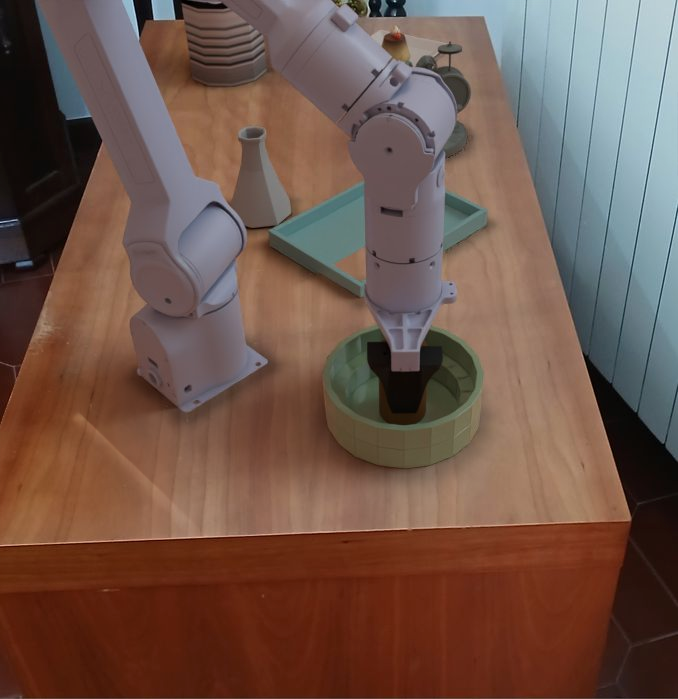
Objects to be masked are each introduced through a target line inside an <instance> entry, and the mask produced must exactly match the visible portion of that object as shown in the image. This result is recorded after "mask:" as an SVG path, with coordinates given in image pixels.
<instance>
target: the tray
mask: <svg viewBox="0 0 678 699" xmlns="http://www.w3.org/2000/svg"><path fill="white" fill-rule="evenodd" d="M488 212H489V211H488V208H485V207H483V206H481V205H480V204H478V203H475V202H473V201H471V200H469V199H467V198H465V197H463V196H461V195H459V194H457V193H454V192H452V191H450V190H448V189H446V188H445V208H444V234H443V252H446V251H447V250H448V249H450V248H451V247H453V246H455V245H457V244H458V243H459V242H461V241H463V240H464V239H466V238H467V237H469V236H471V235H473V234H474V233H476V232H477V231H479V230H480V229H482V228H484V227H486V226H487V224H488ZM267 233H268V241H269V247H271V248H272V249H274V250H276V251H277V252H279V253H281V254H282V255H284V256H285V257H287V258H289V259H290V260H292V261H294V262H295V263H297V264H298V265H300V266H302V267H303V268H305V269H306V270H308V271H310V272H311V273H313V274H314V275H318V274H321V275H322V276H324V277H326V278H327V279H329V280H330V281H333V283H335V284H337V285H338V286H340V287H342V288H343V289H345V290H347V291H348V292H350V293H352V294H353V295H355V296H356V297H358V298H360V299H362V298H364V287H365V285H366V278H364V279H362V280H358V279H357V278H355V277H354V276H352V275H350V274H348V273H347V272H346V271H343V270H342V269H340V267H339V268H338V267H337V266H335V264H337V263H339V262H341V261H342V260H344V259H346V258H348V257H350V256H351V255H353V254H355V253H356V252H358V251H360V250H362V249H363V248H365V214H364V179H363V180H361V181H360V182H358V183H355V184H354V185H352V186H349V187H348V188H346V189H345V190H343V191H340V192H338V193H336V195H333V196H331V197H329V198H328V199H326V200H323V201H321V202H319V203H318V204H316V205H314V206H312V207H310V208H308V209H306V210H304V211H303V212H301V213H298V214H297V215H295V216H293V217H291V218H289V219H287V220H286V221H282V222H281V223H280V224H278V225H275V226H274V227H272V228H270V229H269V230H267Z"/></svg>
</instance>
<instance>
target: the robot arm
mask: <svg viewBox="0 0 678 699" xmlns="http://www.w3.org/2000/svg"><path fill="white" fill-rule="evenodd" d="M36 1H37V3H38V6H39V8H40V10H41V12H42V15H43V16H44V18H45V20H46V23H47V25H48V27H49V30H50V31H51V33H52V36H53V38H54V40H55V42H56V44H57V46H58V48H59V51H60V53H61V55H62V57H63V60H64V62H65V63H66V66H67V68H68V70H69V73H70V74H71V77H72V78H73V80H74V83H75V85H76V87H77V90H78V92H79V93H80V96H81V98H82V100H83V102H84V104H85V106H86V108H87V111H88V112H89V113H88V114H89V115H90V117H91V119H92V121H93V124H94V126H95V128H96V130H97V132H98V134H99V136H100V139H101V141H102V143H103V145H104V147H105V149H106V151H107V153H108V156H109V159H110V160H111V162H112V164H113V166H114V169H115V171H116V173H117V176H118V177H119V179H120V181H121V183H122V185H123V188H124V190H125V192H126V194H127V196H128V199H129V200H130V205H129V210H128V214H127V219H126V223H125V227H124V232H123V235H122V241H121V242H122V246H123V248H124V250H125V252H126V254H127V257H128V261H129V276H130V280H131V284H132V286H133V287H134V290H135V291H136V293H137V294H138V295H139V297H140V298H141V300H143V302H144V303H146V304H145V305H144V306H143V307H142V308H141V309H140V310H138V311H137V312H136V313H135V314H133V315H132V316H131V317H130V319H129V331H130V336H131V339H132V343H133V347H134V352H135V356H136V360H137V364H138V368H137V369H136V374H137V376H138V377H142V378H143V379H144V380H145V381H146V382H148V384H150V385H151V387H154V388H155V389H156V390H157V391H158V392H159V393H161V395H162V396H164V397H165V398H166V399H167V400H168V401H169V402H171V403H172V404H173V405H174V406H176V407H177V408H178V409H179V410H180V411H182V413H189V412H191V411H194V410H195V409H196V408H198V407H199V406H202V405H203V404H204V403H207V402H208V401H209V400H211V399H213V398H215V397H216V396H218V395H219V394H221V393H222V392H224V391H225V390H227V389H229V388H230V387H232V386H234V385H235V384H237V383H239V382H240V381H242V380H244V379H245V378H246V377H248V376H249V375H251V374H252V373H255V372H256V371H258V370H259V369H261V368H263V367H264V366H266V365H267V364H268V362H269V361H268V359H267V358H265V357H264V356H263V355H261V354H260V353H259V352H258V351H256V350H255V349H253V348H252V347H251V346H249V345H248V344H247V341H246V333H245V327H244V319H243V310H242V305H241V298H240V297H241V296H240V290H239V283H238V276H237V272H238V271H239V270H238V263H237V258H238V257H239V256H240V255H241V254H242V253H243V252H244V250H245V249H246V245H247V242H248V233H247V228H246V226H245V225H244V224H243V222H242V220H241V218H240V217H239V216H238V214H237V213H236V212H235V211H234V210H233V209H232V208H231V207H230V206H231V205H230V204H229V203H228V202H227V200H226V199H225V197H224V195H223V193H222V190H221V188H220V185H219V184H218V183H217V182H215V181H212V180H209V179H205V178H202V177H198V176H196V175H195V173H194V170H193V167H192V165H191V164H190V161H189V158H188V156H187V154H186V152H185V149H184V147H183V143H182V142H181V140H180V137H179V134H178V132H177V129H176V127H175V125H174V122H173V120H172V118H171V115H170V113H169V110H168V108H167V105H166V103H165V101H164V98H163V95H162V94H161V91H160V89H159V86H158V84H157V82H156V79H155V77H154V74H153V72H152V70H151V67H150V64H149V62H148V60H147V57H146V55H145V52H144V49H143V48H142V45H141V43H140V41H139V38H138V36H137V33H136V31H135V28H134V25H133V23H132V22H131V18H130V16H129V14H128V12H127V9H126V7H125V4H124V2H123V0H36ZM220 1H221V2H222V3H223V4H225V5H226V6H227V7H228V8H230V9H231V10H232V11H233V12H235V13H236V14H237V15H238V16H240V17H241V18H242V19H243V20H245V21H246V22H247V23H248V24H250V25H251V26H252V27H253V28H255V29H256V30H257V31H258V32H260V33H261V34H262V35H264V39H265V40H266V44H267V48H268V49H267V52H268V57H269V62H270V66H271V68H272V69H273V70H274V71H275V72H277V73H278V74H279V75H280V76H281V77H282V78H283V79H285V80H286V82H288V83H289V84H290V85H291V86H292V87H293V88H295V90H297V91H298V92H299V93H300V94H301V95H302V96H303V97H304V98H306V99H307V101H309V102H310V103H311V104H312V105H314V107H316V109H318V110H319V111H320V112H321V113H322V114H323V115H324V116H325V117H326V118H328V119H329V120H330V121H331V122H332V123H333V124H334V125H336V127H337V128H339V129H340V130H341V131H342V132H343V133H344V134H345V135H347V136H348V137H349V138H351V139H350V140H348V141H347V150H348V154H349V157H350V159H351V161H352V163H353V165H354V166H355V168H356V169H357V170H358V172H359V173H360V174H361V176H362V177H363V180H364V214H365V247H364V250H365V279H366V285H365V287H364V296H363V300H364V302H365V306H366V308H367V309H368V311H369V313H370V314H371V316H372V318H373V319H374V321H375V323H376V325H378V327H379V328H380V330H381V332H382V334H383V335H384V337H385V339H386V341H387V342H367V362H368V365H369V367H370V369H371V370H372V371H373V372H374V373H375V374H376V375H377V377H378V378H379V380H380V381H381V383H382V385H383V388H384V391H385V395H386V399H387V402H388V405H389V408H390V410H391V412H392V413H393V414H399V413H417V411H418V409H419V407H420V404H421V401H422V398H423V394H424V391H425V388H426V386H427V384H428V382H429V380H430V379H431V377H432V376H433V375H434V374H435V373H436V372H437V371H438V370H439V369H440V367H441V364H442V361H443V352H442V346H421V345H422V342H423V340H424V338H425V336H426V334H427V332H428V330H429V328H430V327H431V326H433V325H432V324H433V323H434V321H435V319H436V317H437V316H438V313H439V311H440V308H441V307H442V306H444V305H449V304H454V303H456V302H457V299H458V298H457V297H458V296H457V295H458V294H457V293H458V292H457V285H456V283H455V282H454V281H452V280H443V258H444V257H443V254H444V251H443V234H444V208H445V189H446V185H445V184H446V183H445V173H446V170H445V169H446V158H445V152H444V151H443V150H442V148H443V147H444V145H445V144H446V142H447V140H448V139H449V137H450V136H451V134H452V132H453V129H454V127H455V124H456V121H458V114H457V104H456V101H455V98H454V96H453V94H452V92H451V90H450V89H449V88H448V86H447V85H446V84H445V83H444V82H443V80H442V78H441V76H440V75H438V74H437V73H435V72H433V71H431V70H428V69H425V68H420V67H409V66H407V65H406V64H405V63H404V62H403V61H400V60H399V61H398V62H397V61H396V60H395V59H394V58H393V59H392V60H391V61H390V62H389V63H388V61H389V60H390V59H391V58H392V56H391V55H390V54H389V53H388V52H387V51H386V50H384V49H383V48H382V47H381V46H380V45H379V44H378V43H377V42H376V41H375V40H374V39H373V38H372V37H370V36H371V35H370V34H369V33H368V32H366V31H365V29H363V28H362V27H361V26H360V25H359V24H358V23H357V21H358V19H359V15H358V14H357V13H356V11H355V10H353V9H352V8H351V7H350V6H349V5H348V4H346V3H343V4H342V5H341V6H340V7H339V6H338V5H337V4H336V3H335V2H334V1H333V0H220ZM387 63H388V64H387ZM386 64H387V66H386V67H385V68H384V69H383V67H384V66H385V65H386ZM382 69H383V70H382ZM256 364H259V365H256ZM196 401H198V403H194V402H196Z"/></svg>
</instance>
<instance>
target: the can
mask: <svg viewBox="0 0 678 699" xmlns="http://www.w3.org/2000/svg"><path fill="white" fill-rule="evenodd" d="M180 2H181V10H182V15H183V22H184V28H185V37H186V42H187V49H188V55H189V56H188V57H189V62H190V68H191V74H192V75H191V76H192V80H193V81H196V82H197V83H200V84H202V85H205V86H207V87H225V88H227V87H229V88H231V87H237V86H240V85H246V84H248V83H253V82H256V81H257V80H258V79H259V78H260V77H262V76H263V75H264V74H265V73H266V72H267V70H268V67H267V58H266V57H267V56H266V46H265V36H264V35H262V34H261V33H260V32H258V31H257V30H256V29H255V28H253V27H252V26H251V25H250V24H248V23H247V22H246V21H245V20H243V19H242V18H241V17H240V16H238V15H237V14H236V13H235V12H233V11H232V10H231V9H230V8H228V7H227V6H226V5H225V4H223V3H222V2H221V1H220V0H180Z"/></svg>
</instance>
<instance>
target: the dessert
mask: <svg viewBox="0 0 678 699" xmlns="http://www.w3.org/2000/svg"><path fill="white" fill-rule="evenodd" d="M369 36H370V37H372V38H373V39H374V40H375V41H376V42H377V43H378V44H379V45H380V46H381V47H382V48H383V49H384V50H386V51H387V52H388V53H389V54H390V55H391V56H392V58H391V59H390V60H389V61H388V63H389V62H390V61H391V60H392V59H393V58H394V59H395V60H396V61H397V62H398V61H399V60H400V61H403V62H404V63H405V62H406V61H411V62H412V64H413V67H416V64H417V62H418V61H419V59H420V58H421V57H422V56H424V55H430V56H432V57H433V58H435V57H436V56H437V55H438V54H440V53H439V52H438V47H439V46H441V45H445V44H449V42H445V41H439V40H433V39H429V38H425V37H420V36H416V35H415V36H414V35H408V34H405V33H402V32H401V30H400V27H399V26H397V25H393V26H392V27H391V29H390V30H386V29H378V30H376V31H375V32H373V33H372V34H371V35H369ZM388 63H387V64H388ZM387 64H386V65H385V66H384V67H383V69H384V68H385V67H386V66H387ZM408 66H409V65H408ZM383 69H382V70H383Z"/></svg>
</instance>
